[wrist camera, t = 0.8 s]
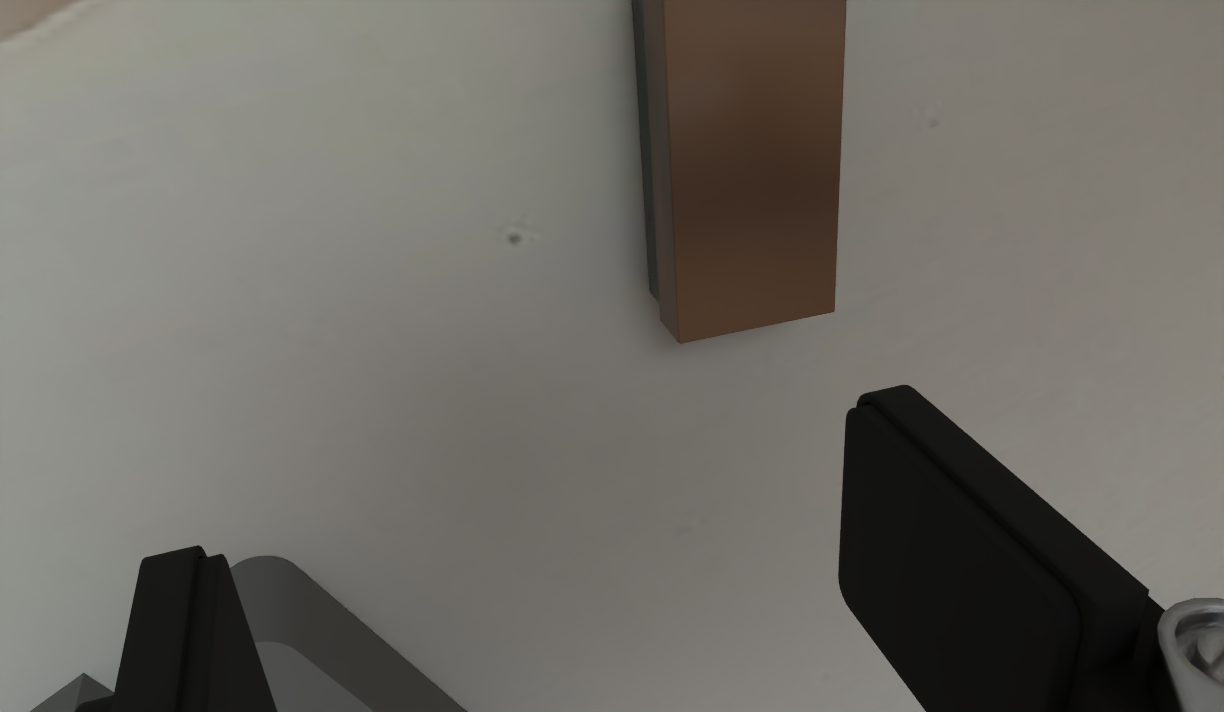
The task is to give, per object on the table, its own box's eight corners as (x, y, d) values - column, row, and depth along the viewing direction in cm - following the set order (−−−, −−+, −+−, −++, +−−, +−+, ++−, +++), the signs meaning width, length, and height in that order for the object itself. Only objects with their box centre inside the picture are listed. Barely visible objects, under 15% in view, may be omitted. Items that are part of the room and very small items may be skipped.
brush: (621, -36, 24) (661, -21, 21) (791, -55, 25) (849, -44, 22) (643, 300, 28) (678, 344, 26) (787, 271, 29) (835, 312, 27)
